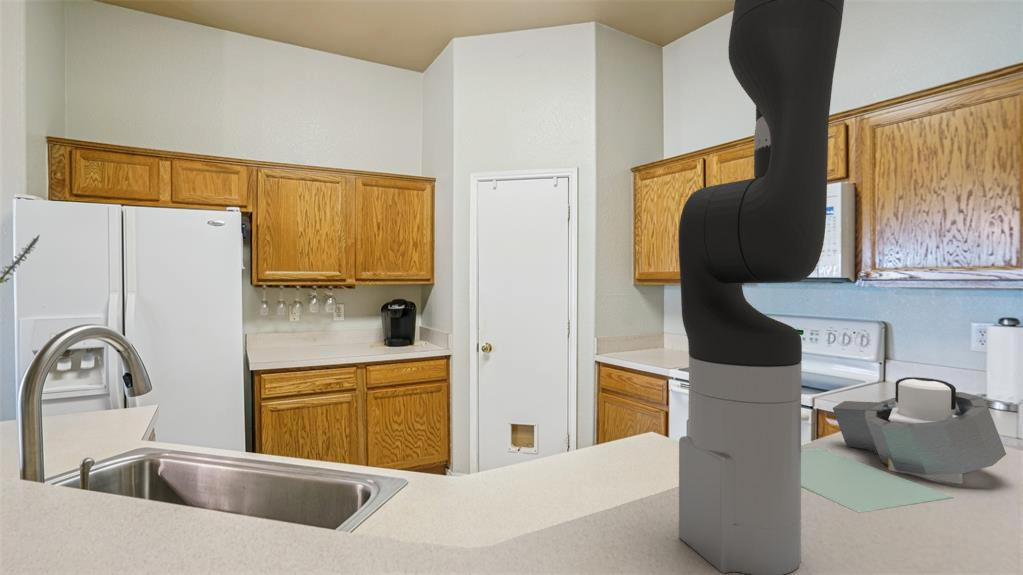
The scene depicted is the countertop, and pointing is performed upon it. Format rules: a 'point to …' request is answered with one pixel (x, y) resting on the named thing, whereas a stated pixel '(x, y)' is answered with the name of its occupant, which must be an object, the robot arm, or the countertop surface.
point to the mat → (859, 483)
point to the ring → (924, 436)
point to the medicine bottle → (924, 410)
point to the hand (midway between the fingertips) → (780, 249)
